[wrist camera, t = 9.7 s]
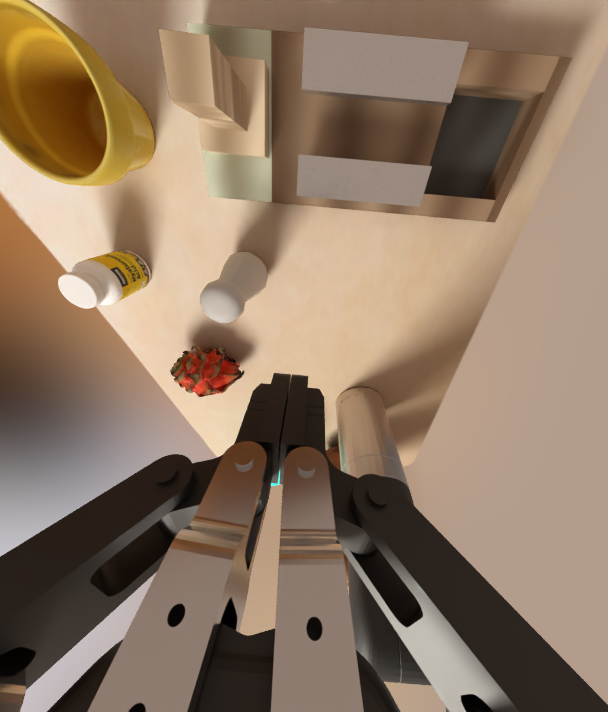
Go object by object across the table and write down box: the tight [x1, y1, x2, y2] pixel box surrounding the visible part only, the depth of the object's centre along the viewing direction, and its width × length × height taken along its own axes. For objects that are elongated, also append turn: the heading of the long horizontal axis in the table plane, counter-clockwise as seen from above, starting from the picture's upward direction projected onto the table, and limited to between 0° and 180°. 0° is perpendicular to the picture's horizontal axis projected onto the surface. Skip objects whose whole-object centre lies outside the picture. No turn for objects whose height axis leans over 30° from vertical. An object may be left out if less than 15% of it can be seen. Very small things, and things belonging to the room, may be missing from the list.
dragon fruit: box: [170, 346, 244, 397], centre depth 41 cm, size 8×8×12 cm
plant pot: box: [0, 0, 155, 186], centre depth 22 cm, size 10×10×10 cm
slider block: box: [159, 29, 269, 159], centre depth 18 cm, size 6×6×10 cm
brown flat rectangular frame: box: [187, 23, 572, 222], centre depth 24 cm, size 32×12×3 cm, turn 86°
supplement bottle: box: [58, 250, 151, 308], centre depth 31 cm, size 5×5×10 cm
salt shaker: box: [200, 252, 268, 323], centre depth 29 cm, size 6×6×13 cm
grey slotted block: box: [297, 27, 469, 207], centre depth 22 cm, size 12×10×4 cm
